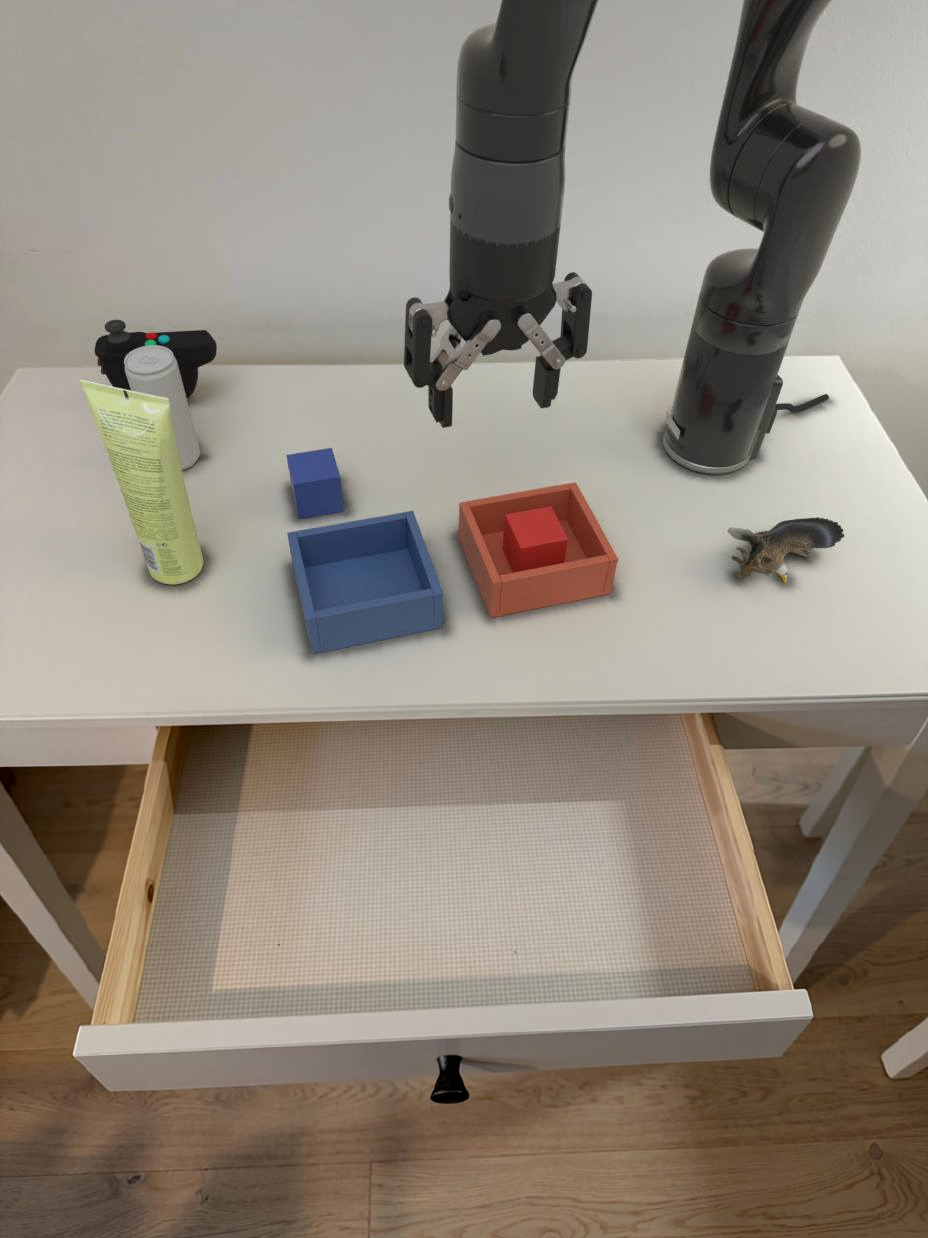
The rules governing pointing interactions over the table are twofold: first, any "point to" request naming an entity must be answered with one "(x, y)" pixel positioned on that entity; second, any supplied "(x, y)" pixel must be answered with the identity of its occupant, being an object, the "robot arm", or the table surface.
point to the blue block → (315, 483)
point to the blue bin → (365, 581)
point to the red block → (533, 539)
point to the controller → (184, 345)
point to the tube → (149, 477)
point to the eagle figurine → (784, 543)
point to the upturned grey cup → (164, 393)
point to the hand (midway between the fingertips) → (493, 411)
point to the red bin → (544, 586)
